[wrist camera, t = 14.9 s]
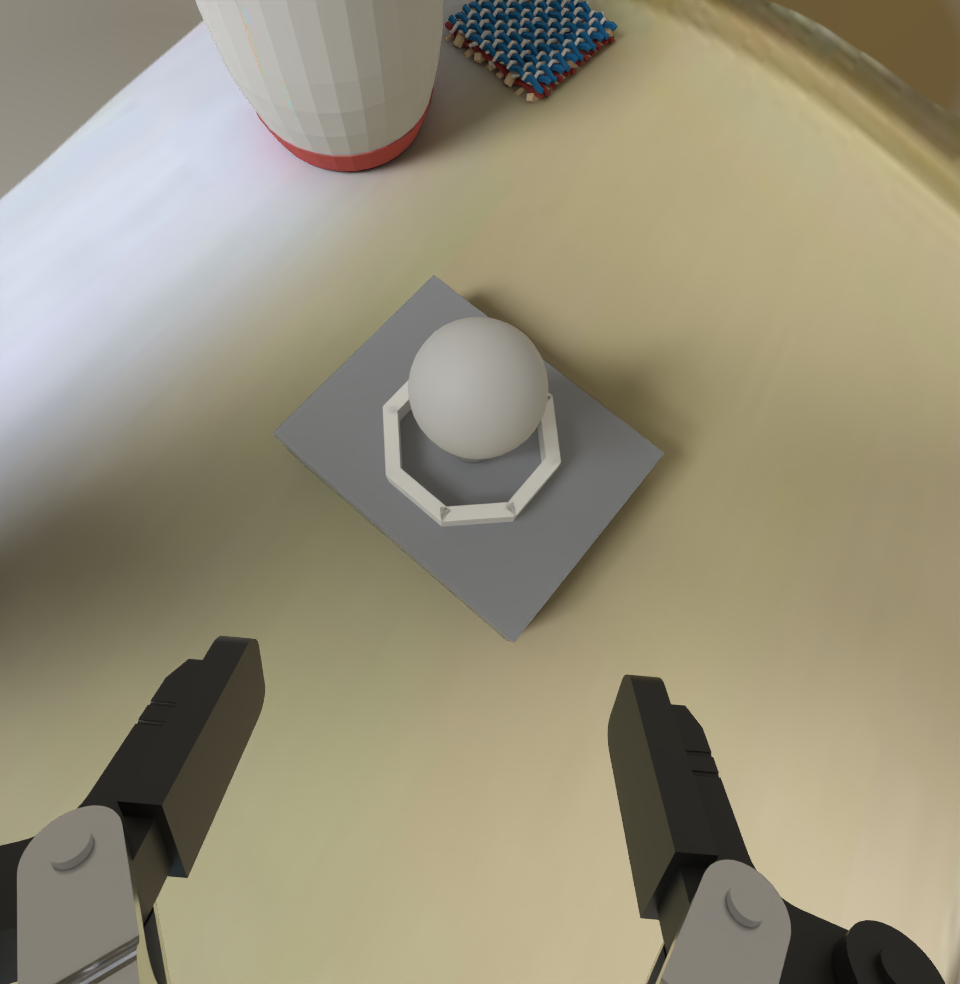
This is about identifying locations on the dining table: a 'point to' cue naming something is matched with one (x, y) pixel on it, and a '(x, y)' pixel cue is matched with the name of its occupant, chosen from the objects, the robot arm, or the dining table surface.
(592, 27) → the woven mat
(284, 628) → the dining table surface
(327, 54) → the citrus juicer
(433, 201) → the dining table surface
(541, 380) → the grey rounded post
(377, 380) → the grey ring holder base
